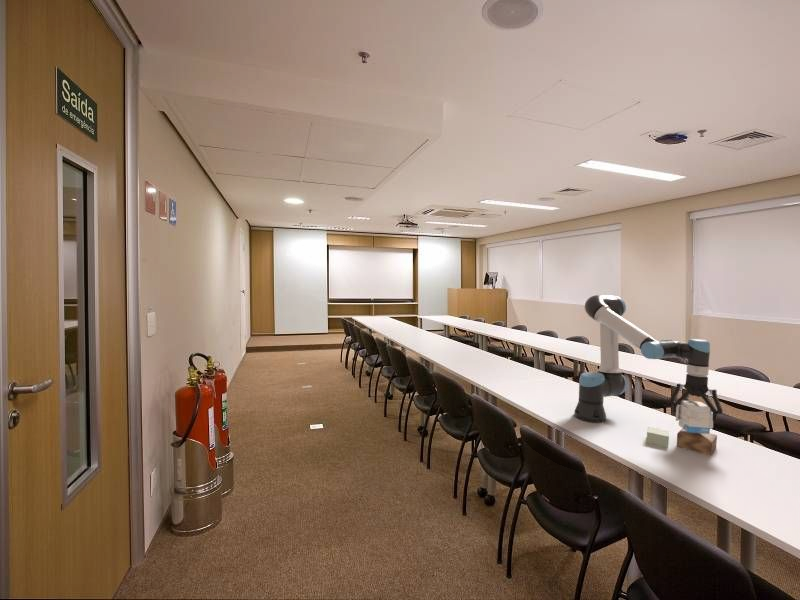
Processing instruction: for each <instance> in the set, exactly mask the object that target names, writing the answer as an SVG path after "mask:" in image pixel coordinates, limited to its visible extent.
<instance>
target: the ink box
mask: <svg viewBox="0 0 800 600" xmlns="http://www.w3.org/2000/svg"><path fill="white" fill-rule="evenodd" d="M687 399H688V400H682V401H681V402H680V403H679V405H680V410H679V420H678V426H679V427H681V429H682V428H683V429H685V430H686V431H688V432H692V433H705V434H710V433H711V432H710V430H711V429H710V415H711V412H712V411H711V409H710V408H709V406H708V405H707V404H705V403H703V402H701V401H695V400H693V399H691V398H689V397H687Z"/></svg>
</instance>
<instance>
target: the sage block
mask: <svg viewBox="0 0 800 600" xmlns="http://www.w3.org/2000/svg"><path fill="white" fill-rule="evenodd" d="M645 442H646V443H647V444H652V445H656V446H660V447H664V448H669V444H670V443H669V442H670V430H666V429H662V428H661V429H660V428H655V427H650V426H648V428H647V431H646V441H645Z"/></svg>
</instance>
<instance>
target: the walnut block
mask: <svg viewBox="0 0 800 600" xmlns="http://www.w3.org/2000/svg"><path fill="white" fill-rule="evenodd" d="M717 439H718V435H717V434H715V433H714V434H713V433H711V432H710V434H705V433H692V432H688V431H686V430H685V429H683V428H682V427H681V429H680V430H679V431H678V432H677V433H676V447H678V448H682V449H684V448H685V450H689V451H692V452H695V451H696V453H699V454H703V455H707V456H711V457H712V455H713V454H714V452H715V451H716V449H717Z"/></svg>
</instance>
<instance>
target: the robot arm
mask: <svg viewBox="0 0 800 600" xmlns="http://www.w3.org/2000/svg"><path fill="white" fill-rule="evenodd" d="M584 310H585V313H586V314H587V315H588V317H590V318H591V319H592V320H594V321H595V322H597V323H599V334H600V336H599V338H600V341H599V342H600V343H599V344H600V349H599V350H600V367H599V368H598V369H597V371H586V372H583V373H581V374H580V375H579V381H578V401H577V404H576V406H575V409H574V415H573V416H574V417H575V418H576V419H579V420H581V421H584V422H589V423H596V424H597V423H605V422H606V421H607V414H606V410H605V407H604V398H606V397H616V396H619V395H623V393H625V392H626V390H627V387H628V382H627V381H628V380H627V379H626V378H625V375H623V371H622V370H621V369H620V367H619V365H620V364H619V362H620V361H619V336H620V337H622V338H623V339H624V340H626V341H627V342H629V343H631V344H632V345H634V346H635V347H636V348H638V350H640V352H641V354H642V356H643V357H644V358H646V359H648V360H658V359H659V360H660V359H672V358H677V359H683V360H686V373H687V374H686V376H685V384H684V383H681V382H678V383H676V388H675V390H674V391H673V394H672V395H671V397H670V399H669V401H668V403H669V404H671V405H673V413H675V421H676V422H679V410H680V402H681V401H684V399H685V398H687V396H689V395H690V396H693V397H694V396H695V397H698V398H701V399H703V401H704V402H705V403H706V404H705V405H707V406H709V408H710V409H711V413H710V430H713V428H714V422H716V421H717V420H718V419H717V418H718V415H719V414H720V415H721V414H723V412H724V410H723V407H722V405H721V402H720V400H719V398H718V395H717V394H718V393H717V392H718V389H716V388H714V389H713V388H709V383H708V382H709V377H708V376H709V368H710V354H711V348H710V347H711V344H710V341H709V340H707V339H701V338H700V339H699V338H690V339H688V341H687V342H686V341H678V340H673V339H666V338H665V339H661V340H660V341H659V340H657V339H656V338H654V337H653V336H651V335H650V334H648V333H647V332H645V331H644V330H642V329H640V328H639V327H637V326H636V325H635V324H633V323H631V322H630V321H629V320H627V319H625V318H623V317H622V316H623V315H624V314H625V313H626V311H627V306H626V303H625V301H624V300H623V299H622V298H621V297H620V296H617V295H613V294H612V295H611V294H610V295H609V294H607V295H606V294H605V295H604V294H603V295H599V294H598V295H597V294H596V295H593V296H590V297H588V299H587V300H586V301H585V303H584ZM683 388H684V389H685V390H686V392H685V393H683V394H682V395H681V396H680V397H679V398H678V399H677V400H676V398H677V396H678V394H679V393H680V390H682V389H683ZM707 393H709V394H710V395H711V397H712V399H713V402H714V404H715V406H714V405H713V403H712V401H711V400H710V399H709V397H708V395H707ZM675 400H676V401H675Z"/></svg>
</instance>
